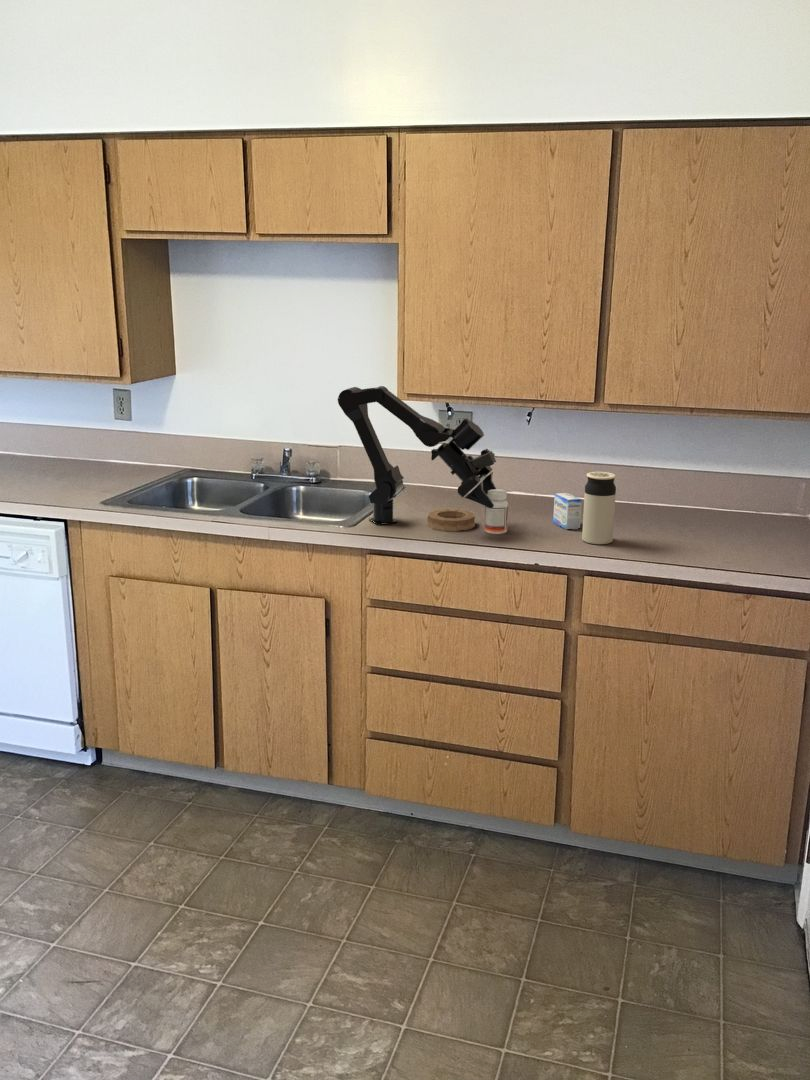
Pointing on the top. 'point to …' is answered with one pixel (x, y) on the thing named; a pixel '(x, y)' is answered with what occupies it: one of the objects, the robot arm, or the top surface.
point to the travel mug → (599, 508)
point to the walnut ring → (451, 519)
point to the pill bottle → (496, 512)
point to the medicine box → (567, 511)
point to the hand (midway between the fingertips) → (496, 503)
